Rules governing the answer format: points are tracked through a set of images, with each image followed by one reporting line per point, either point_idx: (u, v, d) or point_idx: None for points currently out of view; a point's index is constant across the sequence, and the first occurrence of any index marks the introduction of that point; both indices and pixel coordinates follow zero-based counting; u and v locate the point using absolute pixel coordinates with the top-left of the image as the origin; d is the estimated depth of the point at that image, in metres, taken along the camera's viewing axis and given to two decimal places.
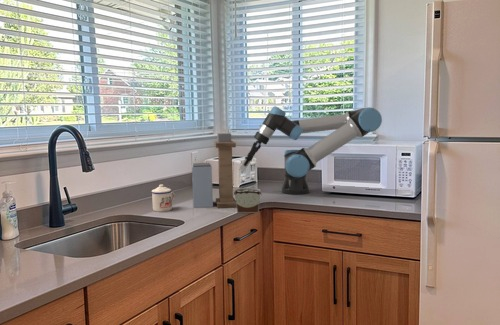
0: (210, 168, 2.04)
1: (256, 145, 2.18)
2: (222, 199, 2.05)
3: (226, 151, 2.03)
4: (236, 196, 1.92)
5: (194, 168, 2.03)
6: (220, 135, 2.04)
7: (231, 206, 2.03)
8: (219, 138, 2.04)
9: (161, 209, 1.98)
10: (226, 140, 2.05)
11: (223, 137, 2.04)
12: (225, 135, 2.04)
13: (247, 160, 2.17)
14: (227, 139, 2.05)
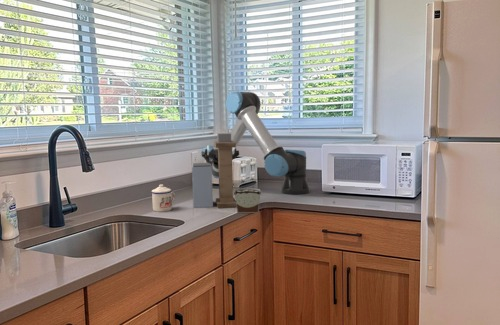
0: (210, 168, 2.04)
1: (207, 159, 2.42)
2: (222, 199, 2.05)
3: (226, 151, 2.03)
4: (236, 196, 1.92)
5: (194, 168, 2.03)
6: (220, 135, 2.04)
7: (231, 206, 2.03)
8: (219, 138, 2.04)
9: (161, 209, 1.98)
10: (226, 140, 2.05)
11: (223, 137, 2.04)
12: (225, 135, 2.04)
13: (204, 153, 2.34)
14: (227, 139, 2.05)
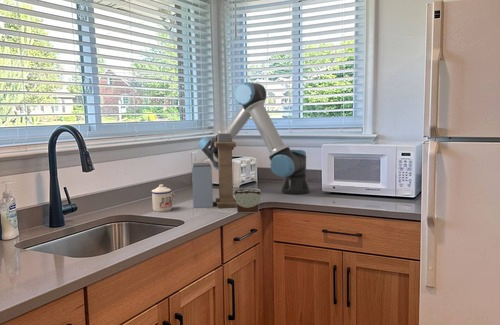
0: (210, 168, 2.04)
1: (209, 147, 2.28)
2: (222, 199, 2.05)
3: (226, 151, 2.03)
4: (236, 196, 1.92)
5: (194, 168, 2.03)
6: (220, 135, 2.04)
7: (231, 206, 2.03)
8: (219, 138, 2.04)
9: (161, 209, 1.98)
10: (226, 140, 2.05)
11: (223, 137, 2.04)
12: (225, 135, 2.04)
13: (216, 139, 2.20)
14: (227, 139, 2.05)
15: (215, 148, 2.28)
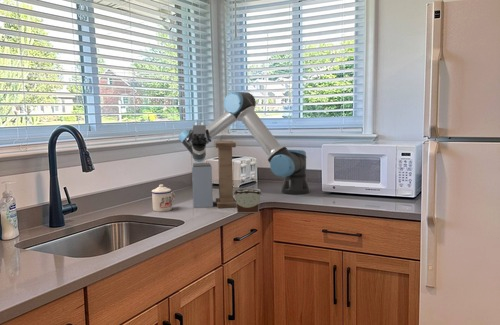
0: (210, 168, 2.04)
1: (187, 139, 2.34)
2: (222, 199, 2.05)
3: (226, 151, 2.03)
4: (236, 196, 1.92)
5: (194, 168, 2.03)
6: (195, 126, 2.10)
7: (231, 206, 2.03)
8: (194, 129, 2.10)
9: (161, 209, 1.98)
10: (201, 131, 2.11)
11: (198, 128, 2.11)
12: (200, 126, 2.11)
13: (192, 131, 2.26)
14: (202, 131, 2.11)
15: (193, 140, 2.35)
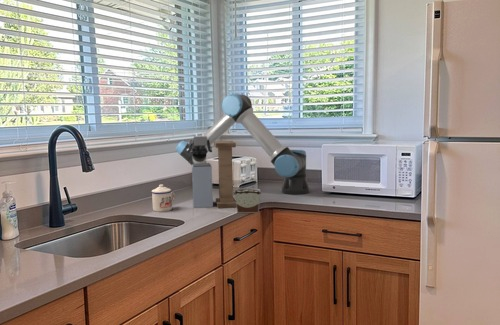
0: (210, 168, 2.04)
1: (187, 150, 2.26)
2: (222, 199, 2.05)
3: (226, 151, 2.03)
4: (236, 196, 1.92)
5: (194, 168, 2.03)
6: (196, 138, 2.03)
7: (231, 206, 2.03)
8: (195, 141, 2.03)
9: (161, 209, 1.98)
10: (202, 143, 2.03)
11: (199, 140, 2.03)
12: (201, 138, 2.03)
13: (193, 141, 2.19)
14: (203, 142, 2.03)
15: (193, 151, 2.27)
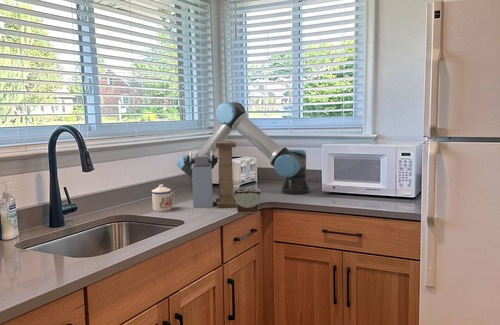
0: (210, 168, 2.04)
1: None
2: (222, 199, 2.05)
3: (226, 151, 2.03)
4: (236, 196, 1.92)
5: (194, 168, 2.03)
6: (197, 158, 2.04)
7: (231, 206, 2.03)
8: (196, 161, 2.04)
9: (161, 209, 1.98)
10: (203, 163, 2.04)
11: (200, 160, 2.04)
12: (202, 158, 2.04)
13: (187, 159, 2.20)
14: (204, 162, 2.04)
15: None
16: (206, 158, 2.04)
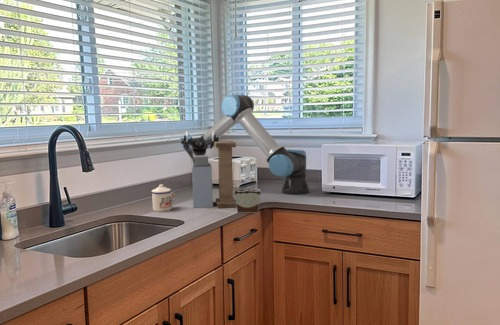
0: (210, 168, 2.04)
1: (186, 146, 2.39)
2: (222, 199, 2.05)
3: (226, 151, 2.03)
4: (236, 196, 1.92)
5: (194, 168, 2.03)
6: (197, 158, 2.04)
7: (231, 206, 2.03)
8: (196, 161, 2.04)
9: (161, 209, 1.98)
10: (203, 163, 2.04)
11: (200, 160, 2.04)
12: (202, 158, 2.04)
13: (183, 139, 2.31)
14: (204, 162, 2.04)
15: (192, 146, 2.38)
16: (206, 158, 2.04)
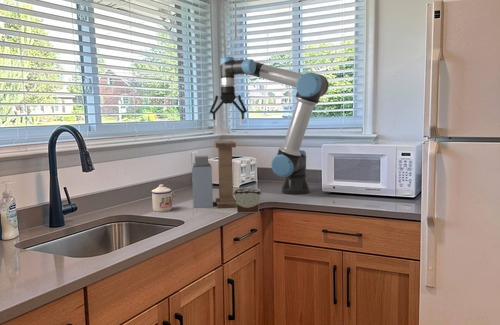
0: (210, 168, 2.04)
1: (215, 98, 2.37)
2: (222, 199, 2.05)
3: (226, 151, 2.03)
4: (236, 196, 1.92)
5: (194, 168, 2.03)
6: (197, 158, 2.04)
7: (231, 206, 2.03)
8: (196, 161, 2.04)
9: (161, 209, 1.98)
10: (203, 163, 2.04)
11: (200, 160, 2.04)
12: (202, 158, 2.04)
13: None
14: (204, 162, 2.04)
15: None
16: (206, 158, 2.04)
